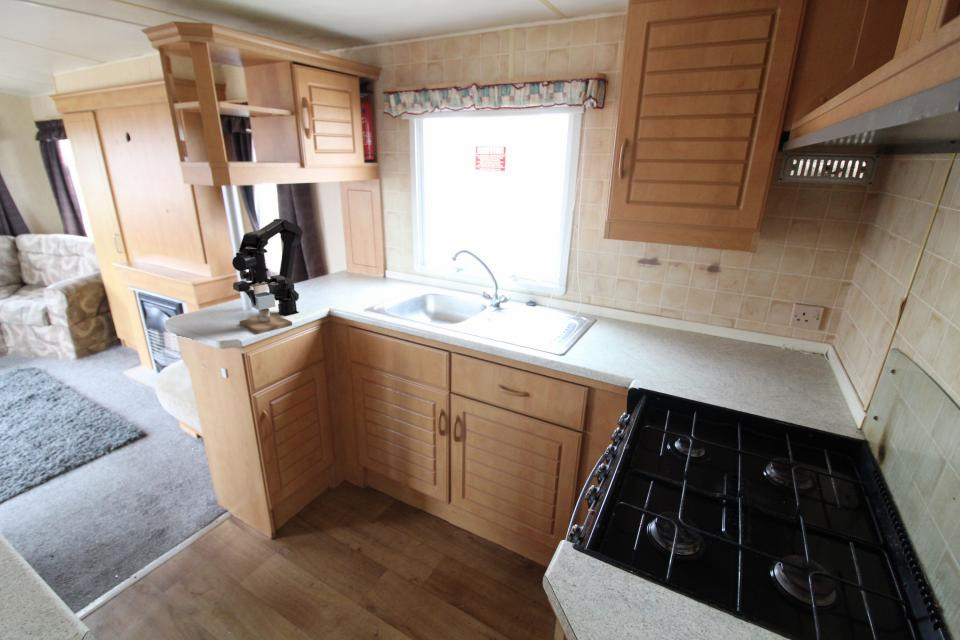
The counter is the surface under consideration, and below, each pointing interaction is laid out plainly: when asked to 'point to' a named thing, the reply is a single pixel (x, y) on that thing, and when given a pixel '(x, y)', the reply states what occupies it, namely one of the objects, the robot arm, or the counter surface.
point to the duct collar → (264, 300)
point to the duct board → (265, 322)
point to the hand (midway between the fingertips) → (263, 303)
